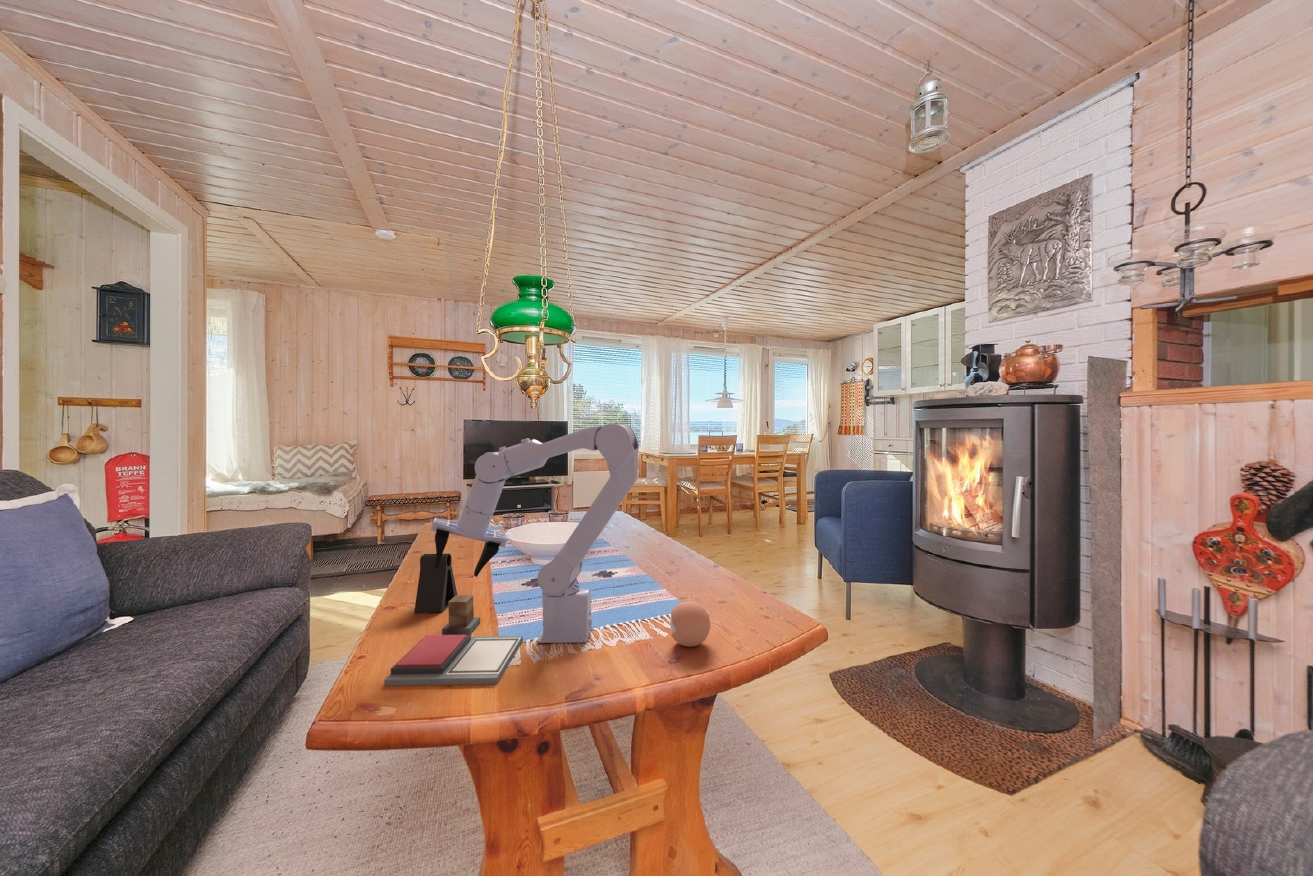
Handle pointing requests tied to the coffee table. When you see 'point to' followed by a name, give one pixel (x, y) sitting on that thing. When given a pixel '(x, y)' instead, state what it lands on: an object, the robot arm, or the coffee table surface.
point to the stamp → (461, 616)
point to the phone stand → (435, 584)
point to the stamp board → (455, 660)
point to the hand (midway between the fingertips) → (456, 570)
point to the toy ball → (689, 624)
